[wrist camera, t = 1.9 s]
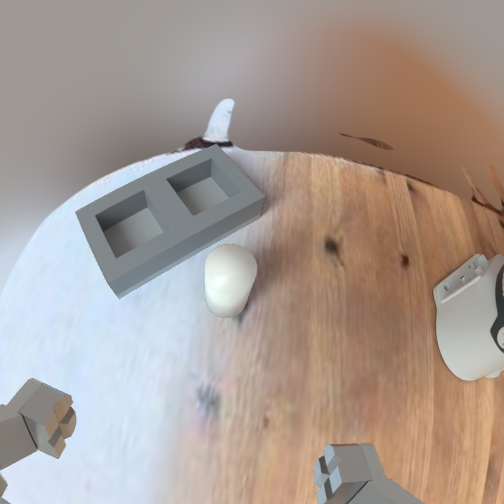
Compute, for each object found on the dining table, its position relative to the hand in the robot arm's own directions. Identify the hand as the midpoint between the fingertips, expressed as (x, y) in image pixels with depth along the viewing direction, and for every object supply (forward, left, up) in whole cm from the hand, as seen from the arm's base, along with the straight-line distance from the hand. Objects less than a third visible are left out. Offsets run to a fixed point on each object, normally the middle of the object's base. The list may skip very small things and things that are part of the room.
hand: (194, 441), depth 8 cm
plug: (-9, -9, -23) cm, 26 cm away
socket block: (-9, -21, -23) cm, 32 cm away
